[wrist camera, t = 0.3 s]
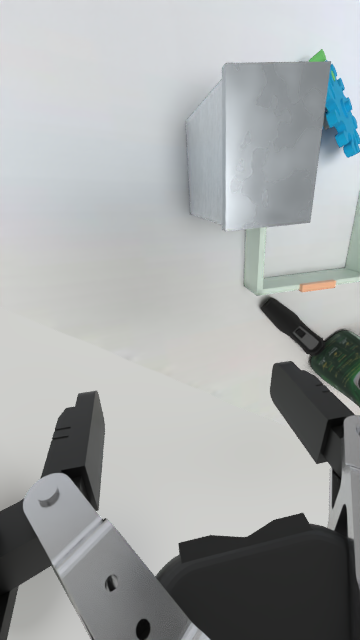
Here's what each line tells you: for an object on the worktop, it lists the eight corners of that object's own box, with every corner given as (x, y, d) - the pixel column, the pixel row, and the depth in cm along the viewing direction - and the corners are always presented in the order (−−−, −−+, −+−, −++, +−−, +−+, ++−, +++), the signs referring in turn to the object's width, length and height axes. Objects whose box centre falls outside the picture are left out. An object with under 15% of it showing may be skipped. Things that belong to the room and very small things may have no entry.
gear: (370, 139, 34) (361, 160, 28) (321, 167, 39) (304, 190, 33) (337, 43, 31) (319, 44, 25) (287, 85, 35) (261, 94, 29)
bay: (246, 192, 36) (265, 192, 31) (366, 182, 38) (400, 181, 33) (243, 286, 41) (258, 298, 37) (348, 272, 44) (374, 282, 39)
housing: (182, 117, 31) (225, 62, 18) (248, 115, 32) (335, 61, 19) (188, 218, 36) (225, 233, 23) (245, 213, 37) (312, 224, 24)
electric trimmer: (268, 288, 43) (278, 294, 40) (322, 339, 49) (334, 348, 46) (251, 306, 44) (260, 313, 41) (306, 353, 50) (317, 363, 47)
